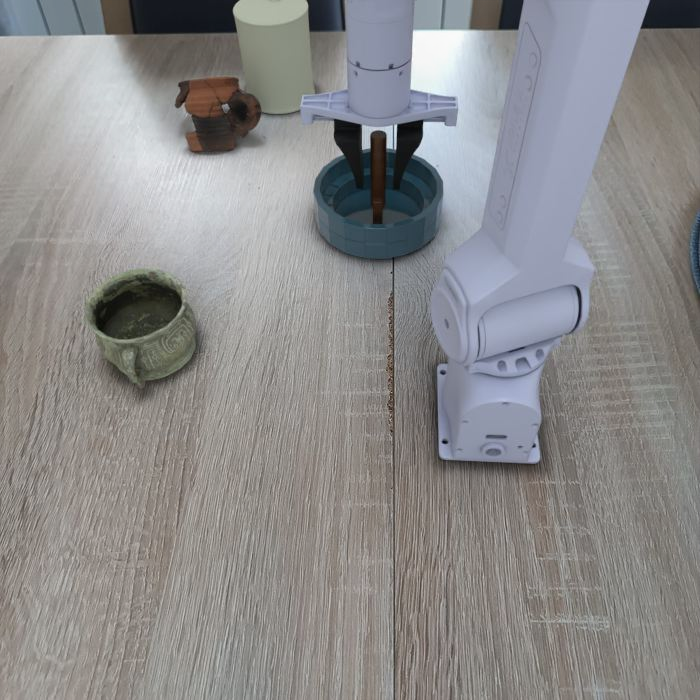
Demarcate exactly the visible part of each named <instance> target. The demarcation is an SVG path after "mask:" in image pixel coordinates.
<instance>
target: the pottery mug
mask: <svg viewBox="0 0 700 700" xmlns="http://www.w3.org/2000/svg"><path fill="white" fill-rule="evenodd" d="M239 82H240V78H238V77H234V76H219V77H217V76H215V77H206V78H196V79H187V80H182V81H179V82H178V83H177V87H178V88H179V93H178V94H177V95H176V98H175V103H174V107H175V108H176V109H180V108H181V107H182V105H183V106H184V110H185V112H186V113H187V114H189V115H191V116H190V117H191V120H192V123H193V127H194V128H195V130H194V131H190V132H189V131H187V132H186V133H185V135H184V136H185V139H186V142H187V145H188V147H189V150H190V152H203V151H204V152H208V151H210V152H219V151H220V152H221V151H229V150H234V149H235V148H236V145H235V139H236V135H237V136H238V137H239V138H243V139H244V138H245V137H246V136H247V135H248V134H249V132H250V131H252V130H254V129H255V128H256V127H257V126H258V124H259V122H260V120H261V117H262V113H263V112H262V110H261V105H260V102H259V101H258V99H257V98H256V97H255V96H254V95H252V94H249V93H247V92H244V90H243V89H242V88H241V87H240V83H239ZM243 92H244V93H243ZM225 105H227V106H228V108H229V109H228V110H227V111H225V110H224V108H223V106H225Z"/></svg>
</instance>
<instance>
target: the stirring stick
mask: <svg viewBox="0 0 700 700" xmlns="http://www.w3.org/2000/svg"><path fill="white" fill-rule="evenodd" d="M387 138H388V134H387V132H386V131H385V130H381V129H376V130H373V131H372V132H370V134H369V143H370V144H369V146H370V147H369V148H370V197H371V207H372V208H373V224H382V217H383V208H384V207H385V205H386V151H387V148H388V147H387V145H388V144H387V143H388V142H387V140H388V139H387Z"/></svg>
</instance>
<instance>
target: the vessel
mask: <svg viewBox="0 0 700 700" xmlns="http://www.w3.org/2000/svg"><path fill="white" fill-rule="evenodd" d="M83 310H84V311H83V313H84V321H85V323H86V325H87V326H88V328H89V330H90V332H93V333H94V335H95V342H96V345H97V346H98V349H99V350H100V352H101V354H102V356H103V357H104V358H105V359H106V360H107V361H109V362H110V363H112V364H113V365H115V366H116V367H117V369H118V370H119V371H120V372H121V373H123V374H124V375H126V376H127V378H128V380H129V382H131V383H132V384H136V385H137V386H138V388H139V389H144V388H145V386H146V381H155V380H159V379H163V378H166V377H168V376H170V375H172V374H174V373H175V372H177V371H179V370H180V369H182V368H183V367H184V366H185V365H186V364H187V363H188V362H189V361H191V359H192V357H193V355H194V353H195V352H196V349H197V343H196V341H197V340H196V334H197V322H196V315H195V312H194V310H193V309H192V307H191V305H190V304H189V303H188V297H187V293H186V288H185V286H184V285H183V283H182V282H181V281H180V279H179V278H177V277H176V276H174V275H173V274H170V273H169V272H167V271H164V270H161V269H156V268H148V267H147V268H145V267H144V268H143V267H142V268H135V269H130V270H127V271H122V272H121V273H119V274H116V275H115V276H113V277H111V278H109V279H106V280H105V281H103V282H102V283H101V284H100V285H98V286H97V287H95V289H94V290H93V291H92V293H91V294H90V296H89V297H88V299H87V300H86V302H85V305H84V309H83Z"/></svg>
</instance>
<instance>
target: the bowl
mask: <svg viewBox="0 0 700 700" xmlns="http://www.w3.org/2000/svg"><path fill="white" fill-rule="evenodd" d="M362 151H363V162H364V183H363V189H357V188H356V183H355V179H354V176H353V173H352V170H351V168H350V165H349V163H348V161H347V159H346V158H345V156H344V154H342V155H339V156H336V157H335V158H334V159H332V160H331V161H330V162H328V163H326V164H325V165H324V166H323V167H322V168H321V170H320V171H319V173H318V174H317V176H316V177H315V179H314V183H313V189H312V191H313V192H312V193H313V204H314V205H313V206H314V215H315V216H314V217H315V223H316V226H317V228H318V229H317V230H318V232H319V234H320V235H321V236H322V237H323V238H324V239H325V241H327V243H328V244H329V245H331V246H332V247H334V248H336V249H338V250H339V251H341V252H343V253H344V254H348V255H350V256H356V257H359V258H363V259H379V260H381V259H383V260H386V259H392V258H396V257H402V256H406V255H408V254H411V253H412V252H415V251H416V250H417V251H418V250H419V249H421V248H423V247H424V246H425V245H426V244H428V243H429V242H431V240H432V239H434V237H435V236H436V234H437V232H438V230H439V228H440V225H441V220H442V213H443V212H442V210H443V201H444V181H443V178H442V176H441V174H440V173H439V171H438V170H437V168H436V167H435V166H433V165H432V164H431V163H430V162H429V161H427V160H426V159H425V158H422V157H420V156H419V155H417V154H415V153H414V154H413V155H412V157H411V159H410V161H409V162H408V164H407V167H406V169H405V171H404V174H403V177H402V180H401V184H400V189H399V190H393V174H394V162H395V154H396V148H389V147H387V151H386V205H385V207H384V208H383V217H382V224H373V208H372V207H371V197H370V147H368V148H362Z"/></svg>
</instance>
